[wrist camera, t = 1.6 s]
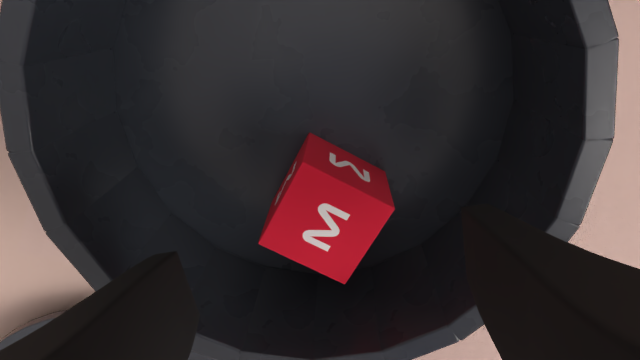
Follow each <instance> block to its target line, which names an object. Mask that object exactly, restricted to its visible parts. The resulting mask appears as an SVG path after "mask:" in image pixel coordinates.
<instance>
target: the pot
mask: <svg viewBox="0 0 640 360" xmlns="http://www.w3.org/2000/svg"><path fill="white" fill-rule="evenodd" d="M617 37H618V32H617V29H616V26H615V22H614V19H613V16H612V12H611V9H610V6H609V2H608V0H2V6H1V12H0V111H1V117H2V124H3V130H4V137H5V143H6V149H7V151H9V153H8V156H9V158H10V160H11V162H12V164H13V166H14V168H15V170H16V173H17V175H18V177H19V179H20V181H21V183H22V185H23V187H24V189H25V191H26V194H27V196H28V198H29V200H30V202H31V204H32V206H33V208H34V210H35V212H36V215H37V217H38V219H39V221H40V223H41V225H42V227H43V229H44V230H45V231H46V235H47V236H48V237H49V238H50V239H51V240H52V242H53V243H54V244H55V245H56V246H57V247H58V249H59V250H60V251H61V252H62V253H63V254H64V255H65V257H66V258H67V259H68V260H69V261H70V262H71V264H72V265H73V266H74V267H75V268H76V269H77V270H78V272H79V273H80V274H81V275H82V276H83V277H84V279H85V280H86V281H87V282H88V283H89V284H90V285H91V287H92V288H93V289H94V290H95V291H98V290H99V289H100V288H102V287H103V286H105V285H106V284H108V283H109V282H111V281H112V280H114V279H115V278H117V277H118V276H120V275H121V274H123V273H124V272H126V271H127V270H129V269H130V268H132V267H133V266H135V265H136V264H138V263H140V262H141V261H143V260H145V259H146V258H148V257H150V256H152V255H154V254H160V253H166V252H173V251H177V253H178V256H179V258H180V261H181V264H182V267H183V269H184V272H185V275H186V278H187V280H188V283H189V286H190V289H191V291H192V294H193V297H194V300H195V303H196V305H197V308H198V311H199V314H200V317H199V322H198V326H197V331H196V335H195V339H194V342H193V346H192V350H191V351H194V352H196V353H199V354H202V355H204V356H207V357H209V358H212V359H215V360H412V359H415V358H417V357H420V356H422V355H425V354H428V353H430V352H433V351H436V350H438V349H441V348H443V347H446V346H449V345H451V344H454V343H457V342H458V341H459V339H460V340H463V339H465V338H466V337H467V336H469V335H470V334H472V333H473V332H474V331H476V330H477V329H478V328H480V327H481V326H483V325H484V322H483V320H482V318H481V316H480V314H479V312H478V309H477V306H476V303H475V301H474V298H473V295H472V292H471V289H470V286H469V283H468V280H467V274H466V263H465V251H464V240H463V228H462V217H461V207H465V206H472V205H478V204H485V203H487V204H490V205H492V206H494V207H496V208H498V209H500V210H502V211H504V212H506V213H508V214H510V215H512V216H514V217H516V218H518V219H520V220H522V221H524V222H526V223H528V224H530V225H532V226H534V227H536V228H538V229H540V230H542V231H544V232H546V233H548V234H550V235H552V236H554V237H557V238H559V239H561V240H563V241H565V242H568V241H569V240H570V239H571V237H572V236H573V235H574V233H575V232H576V231H577V230H578V228H579V225H580V224H581V223H582V220H583V218H584V215H585V212H586V210H587V207H588V205H589V202H590V199H591V197H592V194H593V192H594V189H595V187H596V184H597V181H598V179H599V176H600V174H601V171H602V169H603V166H604V163H605V161H606V158H607V156H608V153H609V150H610V148H611V145H612V143H613V138H614V130H615V109H616V89H617V68H618V47H619V39H618V38H617ZM309 133H312V134H314V135H316V136H318V137H320V138H322V139H324V140H325V141H327V142H329V143H331V144H333V145H335V146H337V147H339V148H341V149H343V150H345V151H347V152H349V153H351V154H353V155H354V156H356V157H358V158H360V159H362V160H364V161H366V162H368V163H370V164H372V165H374V166H376V167H378V168H380V169H381V170H383V171H385V173H386V176H387V180H388V184H389V188H390V192H391V196H392V199H393V203H394V207H395V210H394V211H393V213H392V214H391V216H390V217H389V219H388V220H387V222H386V223H385V225H384V226H383V228H382V229H381V231H380V232H379V234H378V235H377V237H376V238H375V240H374V241H373V243H372V244H371V246H370V247H369V249H368V250H367V252H366V253H365V255H364V256H363V258H362V259H361V261H360V263H359V264H358V266H357V267H356V269H355V270H354V272H353V273H352V275H351V276H350V278H349V279H348V281H347V282H346V284H343V283H340V282H338V281H336V280H334V279H332V278H330V277H328V276H325V275H323V274H321V273H319V272H317V271H315V270H313V269H311V268H308V267H306V266H304V265H302V264H300V263H298V262H296V261H294V260H291V259H289V258H287V257H285V256H283V255H281V254H279V253H277V252H274V251H272V250H270V249H268V248H266V247H264V246H262V245H260V244H258V242H259V239H260V236H261V233H262V230H263V227H264V224H265V221H266V218H267V215H268V212H269V209H270V206H271V203H272V201H273V199H274V197H275V195H276V193H277V191H278V190H279V188H280V186H281V184H282V182H283V180H284V178H285V177H286V175H287V173H288V171H289V169H290V167H291V165H292V163H293V162H294V160H295V158H296V156H297V154H298V152H299V150H300V149H301V147H302V145H303V143H304V141H305V139H306V137H307V135H308V134H309Z"/></svg>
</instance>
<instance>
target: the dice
mask: <svg viewBox="0 0 640 360" xmlns="http://www.w3.org/2000/svg"><path fill="white" fill-rule="evenodd" d="M394 210H395V207H394V203H393V199H392V196H391V192H390V188H389V184H388V180H387V176H386V173H385V171H383V170H381V169H380V168H378V167H376V166H374V165H372V164H370V163H368V162H366V161H364V160H362V159H360V158H358V157H356V156H354V155H353V154H351V153H349V152H347V151H345V150H343V149H341V148H339V147H337V146H335V145H333V144H331V143H329V142H327V141H325V140H324V139H322V138H320V137H318V136H316V135H314V134H312V133H309V134H308V135H307V137H306V139H305V141H304V143H303V145H302V147H301V149H300V150H299V152H298V154H297V156H296V158H295V160H294V162H293V163H292V165H291V167H290V169H289V171H288V173H287V175H286V177H285V178H284V180H283V182H282V184H281V186H280V188H279V190H278V191H277V193H276V195H275V197H274V199H273V201H272V203H271V206H270V209H269V212H268V215H267V218H266V221H265V224H264V227H263V230H262V233H261V236H260V239H259V242H258V244H260V245H262V246H264V247H266V248H268V249H270V250H272V251H274V252H277V253H279V254H281V255H283V256H285V257H287V258H289V259H291V260H294V261H296V262H298V263H300V264H302V265H304V266H306V267H308V268H311V269H313V270H315V271H317V272H319V273H321V274H323V275H325V276H328V277H330V278H332V279H334V280H336V281H338V282H340V283H343V284H346V282H347V281H348V279H349V278H350V276H351V275H352V273H353V272H354V270H355V269H356V267H357V266H358V264H359V263H360V261H361V259H362V258H363V256H364V255H365V253H366V252H367V250H368V249H369V247H370V246H371V244H372V243H373V241H374V240H375V238H376V237H377V235H378V234H379V232H380V231H381V229H382V228H383V226H384V225H385V223H386V222H387V220H388V219H389V217H390V216H391V214H392V213H393V211H394Z"/></svg>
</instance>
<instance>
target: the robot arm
mask: <svg viewBox="0 0 640 360" xmlns="http://www.w3.org/2000/svg"><path fill="white" fill-rule="evenodd" d="M461 217H462V228H463V240H464V251H465V263H466V274H467V280H468V283H469V286H470V289H471V292H472V295H473V298H474V301H475V303H476V306H477V309H478V312H479V314H480V316H481V318H482V320H483V322H484V324H485V326H486V328H487V330H488V332H489V334H490V336H491V338H492V340H493V342H494V344H495V346H496V348H497V350H498V352H499V354H500V356H501V358H502V360H640V269H638V268H635V267H632V266H629V265H626V264H623V263H620V262H617V261H614V260H611V259H608V258H605V257H602V256H600V255H597V254H594V253H592V252H589V251H587V250H584V249H582V248H580V247H577V246H575V245H573V244H570V243H568V242H565V241H563V240H561V239H559V238H557V237H554V236H552V235H550V234H548V233H546V232H544V231H542V230H540V229H538V228H536V227H534V226H532V225H530V224H528V223H526V222H524V221H522V220H520V219H518V218H516V217H514V216H512V215H510V214H508V213H506V212H504V211H502V210H500V209H498V208H496V207H494V206H492V205H490V204H487V203H485V204H478V205H472V206H465V207H461ZM199 317H200V314H199V311H198V308H197V305H196V303H195V300H194V297H193V294H192V291H191V289H190V286H189V283H188V280H187V278H186V275H185V272H184V269H183V267H182V264H181V261H180V258H179V256H178V253H177V251H173V252H166V253H160V254H154V255H152V256H150V257H148V258H146V259H145V260H143V261H141V262H140V263H138V264H136V265H135V266H133V267H132V268H130V269H129V270H127V271H126V272H124V273H123V274H121V275H120V276H118V277H117V278H115V279H114V280H112V281H111V282H109V283H108V284H106V285H105V286H103V287H102V288H100V289H99V290H98V291H96V292H95V293H93V294H92V295H90V296H89V297H87V298H86V299H84V300H83V301H81V302H80V303H78V304H77V305H75V306H73V307H72V308H70V309H69V310H67V311H66V312H64V313H63V314H61V315H59V316H58V317H56V318H55V319H53V320H52V321H50V322H49V323H47V324H45V325H44V326H42V327H40V328H39V329H37V330H35V331H34V332H32V333H30V334H29V335H27V336H25V337H23V338H22V339H20V340H18V341H16V342H14V343H13V344H11V345H9V346H7V347H5V348H4V349H2V350H0V360H188V358H189V355H190V353H191V350H192V346H193V342H194V339H195V335H196V331H197V326H198V322H199Z"/></svg>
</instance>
